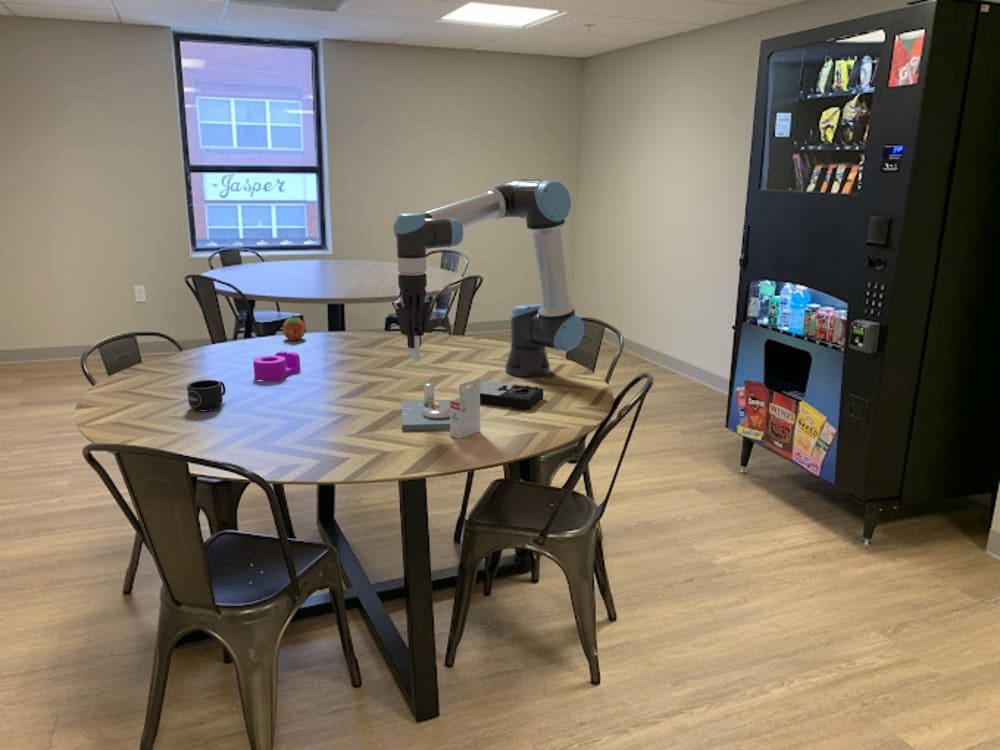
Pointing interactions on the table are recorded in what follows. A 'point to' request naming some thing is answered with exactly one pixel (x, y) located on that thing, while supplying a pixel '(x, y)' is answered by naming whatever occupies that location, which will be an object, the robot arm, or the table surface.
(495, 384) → the multimeter
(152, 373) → the table surface
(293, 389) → the table surface
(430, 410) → the dial
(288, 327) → the fruit
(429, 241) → the robot arm
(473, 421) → the ink box
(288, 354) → the tape dispenser
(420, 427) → the panel
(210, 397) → the mug
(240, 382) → the table surface
